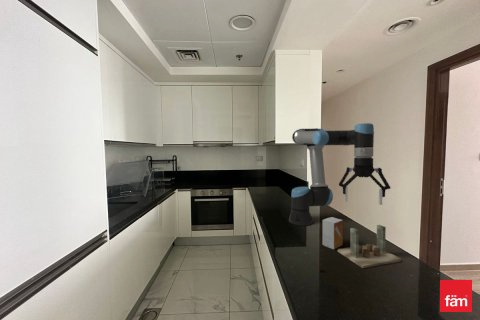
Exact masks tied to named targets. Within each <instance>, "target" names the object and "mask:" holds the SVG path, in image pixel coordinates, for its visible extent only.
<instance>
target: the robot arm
mask: <svg viewBox="0 0 480 320" xmlns="http://www.w3.org/2000/svg"><path fill="white" fill-rule="evenodd" d="M374 129H375V128H374V124H373V123H370V122H369V123H365V122H364V123H357V124H355V125H354V128H353V129H349V130H347V129H346V130H324V129H323V128H318V127H317V128H298V129H296V130H294V132H293V133H292V137H291V139H292V141H293V142H294V144H296V145H298V146H299V145H300V146H306V149H307V150H308V151H309V161H310V175H311V185H310V186H309V187H308V186H297V187H294V188H292V190H291V194H290V195H291V210H290V214H289V218H288V222H289V223H290V224H292V225H294V226H301V227H303V226H304V227H305V226H306V227H307V226H311V225H313V217H312V215H311V211H310V207H326V206H327V207H328V206H330V205H331V204H332V201H333V199H334V194H333V191H332V189H331V188H329V185H328V184H327V183H326V177H325V165H324V155H323V154H324V153H323V149H324V147H325V146H353V147H354V148H353V149H354V150H353V156H354V158H353V167H349V166H347V167H346V171H345V173H344V174H343V176H342V178H341V179H340V181H339V183H338V186H339V187H341V188H342V194H343V195H345V198H344V199H345V202H346V203H347V202H348V190H349V189H348V185H350V184H351V183H352V182H353V181H354V180H355V179H356V178H357V177H359V178H369V177H370V179H371V180H373V182H374V183H375V184H376V185H378V187H379V189H378V204H379V205H383V198H385V197H386V191H387V190H390V189H391V188H392V187H391V185H390V184H389V183H388V181H387V179H386V177H385V175H384V174H383V171H382V170H383V169H382V167H377V168H375V167H374V158H373V156H374V142H375V141H374V138H375V137H374V135H375V130H374ZM352 171H353V174H352V176H351V177H350V178H349V179H348V180H346V179H347V177H348V175H349V173H351V172H352ZM374 172H375V173H376V174H377V175H378V176H379V178H380V179H381V181H382V182H383V184H384V185H383V184H382V183H381V181H379V180H378V179H377V178H376V177H375V176H374V174H373V173H374ZM344 182H345V183H344Z"/></svg>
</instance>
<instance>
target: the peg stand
mask: <svg viewBox="0 0 480 320" xmlns="http://www.w3.org/2000/svg"><path fill="white" fill-rule="evenodd" d="M349 230H350V231H349V232H350V242H349V243H350V245H349V246H350V247H344V248H337V252H338V253H339V254H341V255H342V256H344V257H345V258H347V259H348V260H349V261H351V262H353V263H354V264H356V265H357V266H359V267H360V268H362V269H366V268H371V267H377V266H384V265H387V264H389V265H390V264H394V263H400V262H402V258H400V257H399V256H397V255H395V254H392V253H390V252H388V251H386V234H387V232H386V231H387V230H386V226H384V225H381V224H377V225H376V245H375V244H373V243H372V244H371V243H366V244H363V245H360V243H359V242H360V241H359V240H360V236H359V233H360V231H359V229H357V228H355V227H351V228H350V229H349Z"/></svg>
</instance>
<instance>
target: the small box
mask: <svg viewBox="0 0 480 320" xmlns="http://www.w3.org/2000/svg"><path fill="white" fill-rule="evenodd" d="M343 225H344V220H343V219H341V218H336V217H334V216H331V217H327V218H324V219H322V245H323V246H324V247H326V248H329V249H331V250H336V249H339V247H343V244H344V242H343V239H344V238H343V236H344V234H343V233H344V231H343V230H344V228H343Z"/></svg>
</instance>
